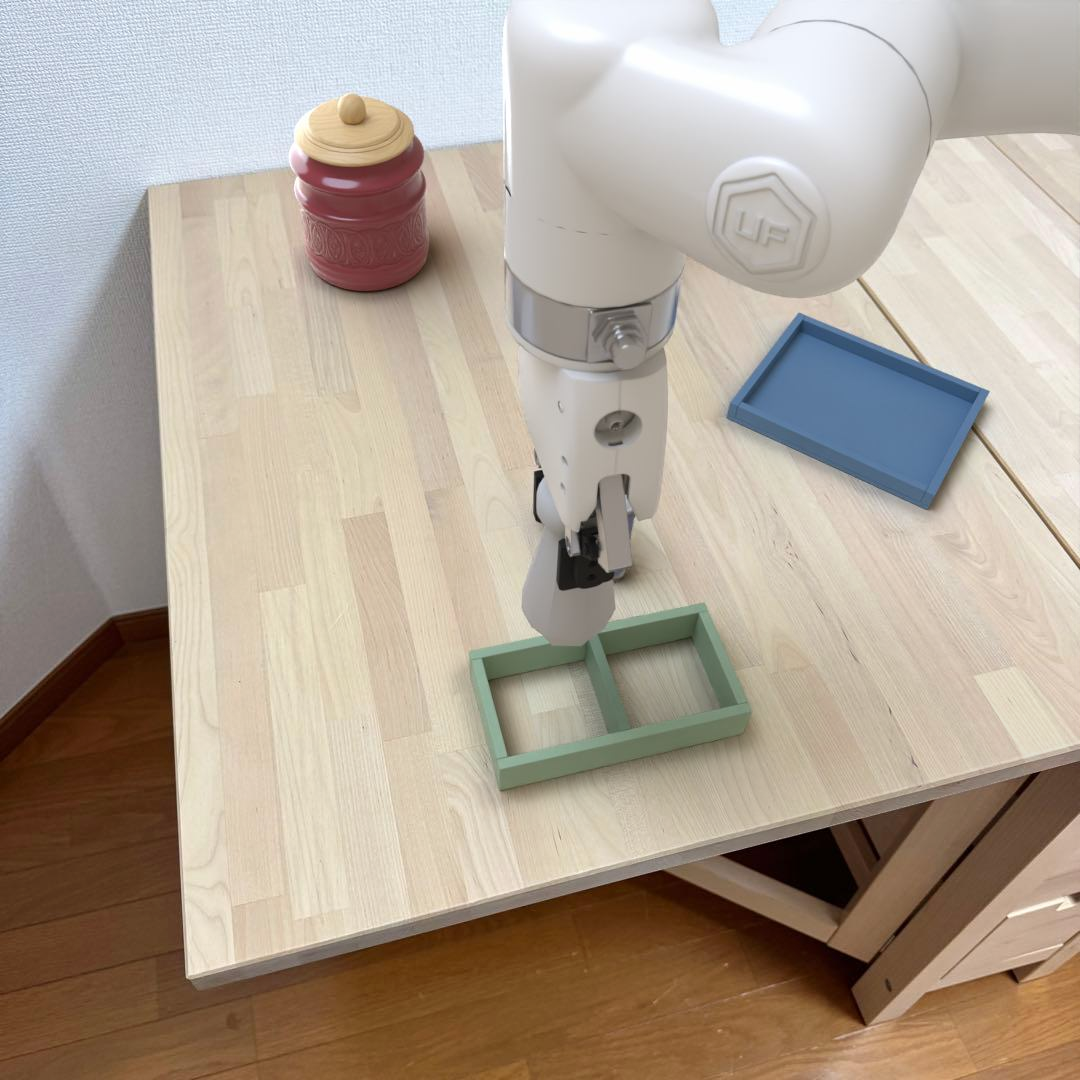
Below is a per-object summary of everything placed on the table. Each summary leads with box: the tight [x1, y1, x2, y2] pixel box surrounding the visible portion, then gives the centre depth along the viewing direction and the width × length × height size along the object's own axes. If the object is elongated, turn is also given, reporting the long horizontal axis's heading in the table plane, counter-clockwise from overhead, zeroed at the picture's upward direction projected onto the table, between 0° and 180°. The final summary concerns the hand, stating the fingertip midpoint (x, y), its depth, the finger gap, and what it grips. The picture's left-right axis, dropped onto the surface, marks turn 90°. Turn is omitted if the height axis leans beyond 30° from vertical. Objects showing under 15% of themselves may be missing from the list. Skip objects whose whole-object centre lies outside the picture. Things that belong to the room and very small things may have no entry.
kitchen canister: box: [288, 92, 430, 292], centre depth 99 cm, size 13×13×18 cm
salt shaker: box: [521, 476, 616, 646], centre depth 58 cm, size 6×6×13 cm
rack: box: [468, 601, 753, 791], centre depth 73 cm, size 18×10×4 cm, turn 105°
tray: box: [726, 312, 991, 511], centre depth 94 cm, size 20×16×2 cm
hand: (572, 545), depth 57 cm, fingers closed on salt shaker, 4 cm apart
